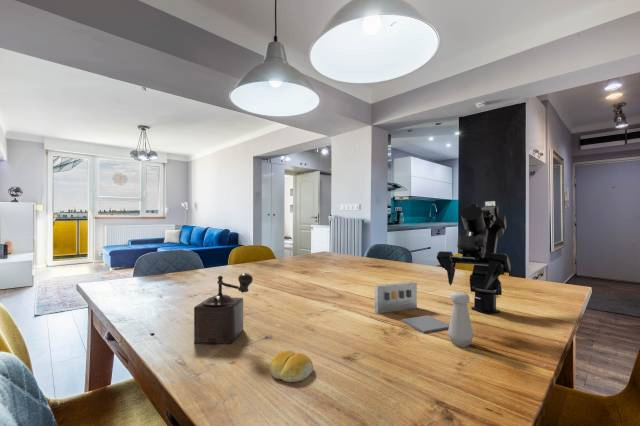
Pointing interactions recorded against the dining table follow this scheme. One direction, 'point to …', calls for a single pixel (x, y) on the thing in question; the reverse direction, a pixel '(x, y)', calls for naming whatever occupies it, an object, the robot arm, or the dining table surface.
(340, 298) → the dining table surface
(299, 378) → the bread roll
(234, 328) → the manual coffee grinder
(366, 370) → the dining table surface
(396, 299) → the breaker panel
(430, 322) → the slate pad
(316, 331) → the dining table surface
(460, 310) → the salt shaker
